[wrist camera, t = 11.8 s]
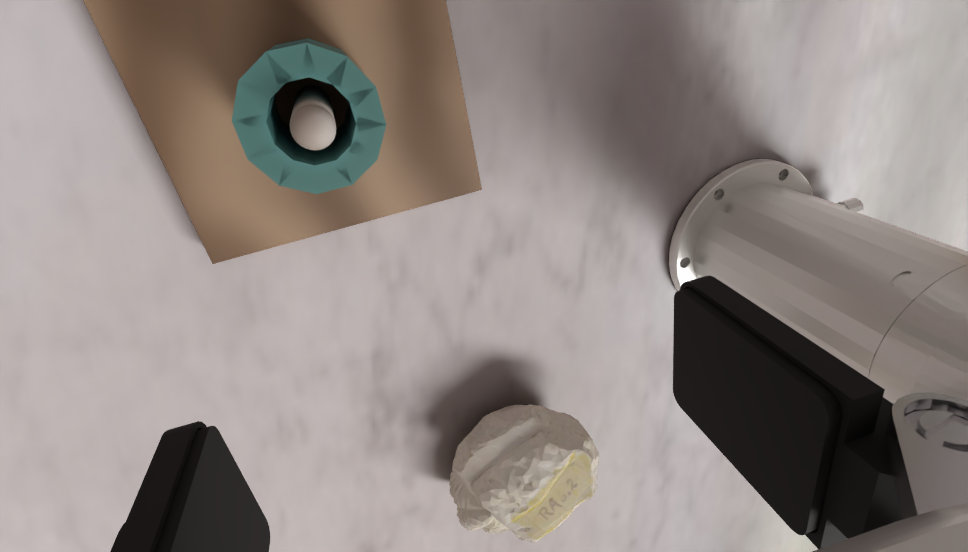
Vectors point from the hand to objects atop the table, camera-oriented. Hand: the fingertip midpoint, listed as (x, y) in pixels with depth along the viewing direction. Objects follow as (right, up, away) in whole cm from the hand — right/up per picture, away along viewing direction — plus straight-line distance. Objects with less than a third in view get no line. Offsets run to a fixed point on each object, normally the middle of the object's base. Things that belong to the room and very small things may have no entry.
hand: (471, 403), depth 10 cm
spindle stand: (-9, +12, +18) cm, 24 cm away
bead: (-9, +12, +17) cm, 22 cm away
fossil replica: (+2, -11, +33) cm, 35 cm away
